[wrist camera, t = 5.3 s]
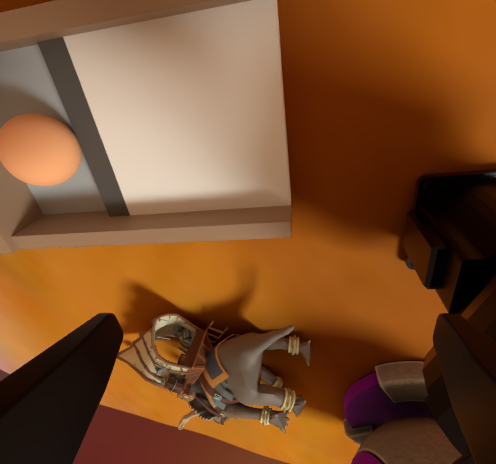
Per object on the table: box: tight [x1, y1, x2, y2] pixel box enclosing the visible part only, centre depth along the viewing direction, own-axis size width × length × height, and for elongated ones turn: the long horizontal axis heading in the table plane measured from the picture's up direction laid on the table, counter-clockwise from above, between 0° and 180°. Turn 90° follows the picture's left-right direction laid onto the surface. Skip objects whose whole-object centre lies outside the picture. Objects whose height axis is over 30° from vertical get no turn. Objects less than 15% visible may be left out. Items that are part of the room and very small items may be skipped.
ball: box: [0, 113, 82, 186], centre depth 17 cm, size 4×4×4 cm
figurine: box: [117, 313, 311, 433], centre depth 26 cm, size 20×6×17 cm
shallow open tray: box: [0, 0, 292, 254], centre depth 17 cm, size 19×12×4 cm, turn 98°
